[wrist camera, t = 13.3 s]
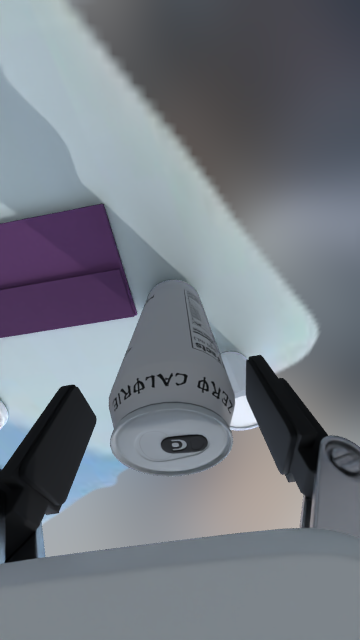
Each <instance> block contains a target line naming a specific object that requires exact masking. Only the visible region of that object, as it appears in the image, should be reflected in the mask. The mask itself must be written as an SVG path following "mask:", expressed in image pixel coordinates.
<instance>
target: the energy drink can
mask: <svg viewBox="0 0 360 640" xmlns="http://www.w3.org/2000/svg"><path fill="white" fill-rule="evenodd" d="M234 407H235V394H234V391H233V389H232V386H231V383H230V380H229V378H228V375H227V372H226V369H225V366H224V364H223V361H222V358H221V355H220V352H219V350H218V347H217V344H216V341H215V339H214V336H213V333H212V330H211V327H210V325H209V322H208V319H207V316H206V314H205V311H204V308H203V305H202V302H201V300H200V297H199V294H198V293H197V291H196V290H195V289H194V288H193V287H192V286H191V285H189V284H188V283H186V282H184V281H180V280H167V281H164V282H161V283H159V284H158V285H156V286H155V287H154V288H153V289H152V290H151V292H150V293H149V295H148V298H147V300H146V303H145V305H144V308H143V310H142V313H141V316H140V318H139V321H138V323H137V326H136V328H135V331H134V333H133V336H132V339H131V341H130V344H129V346H128V349H127V351H126V354H125V357H124V359H123V362H122V364H121V367H120V369H119V372H118V374H117V377H116V380H115V382H114V385H113V387H112V390H111V393H110V396H109V410H110V414H111V418H112V422H113V427H114V430H113V433H112V435H111V439H110V447H111V450H112V453H113V454H114V456H115V457H116V458H117V459H118V460H119V461H120V462H121V463H122V464H124V465H126V466H127V467H129V468H131V469H133V470H136V471H138V472H142V473H146V474H150V475H157V476H182V475H189V474H194V473H198V472H201V471H204V470H207V469H209V468H211V467H213V466H215V465H217V464H218V463H220V462H221V461H222V460H223V459H224V458H225V457H226V456H227V455H228V454H229V452H230V450H231V448H232V444H233V437H232V432H231V430H230V424H231V420H232V416H233V412H234Z"/></svg>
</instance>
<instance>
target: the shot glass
mask: <svg viewBox="0 0 360 640" xmlns="http://www.w3.org/2000/svg"><path fill="white" fill-rule="evenodd" d="M220 355H221V358H222V361H223V364H224V366H225V369H226V372H227V375H228V378H229V380H230V383H231V386H232V389H233V391H234V394H235V407H234V412H233V416H232V420H231V424H230V430H237V431H239V430H249V429H252V428H256V427H259V426H258V423H257V421H256V419H255V417H254V414H253V412H252V410H251V408H250V406H249V403H248V401H247V398H246V360H247V359H246V357H245V356H243V355H242V354H241V353H238V352H233V351H231V352H224V353H221V354H220Z"/></svg>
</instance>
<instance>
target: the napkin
mask: <svg viewBox="0 0 360 640" xmlns="http://www.w3.org/2000/svg"><path fill="white" fill-rule="evenodd" d="M135 315H137V311H136V308H135V305H134V301H133V298H132V295H131V292H130V288H129V285H128V282H127V279H126V275H125V272H124V269H123V266H122V262H121V259H120V256H119V253H118V249H117V246H116V243H115V240H114V236H113V233H112V230H111V227H110V223H109V220H108V217H107V214H106V211H105V207H104V204H98V205H93V206H88V207H83V208H78V209H73V210H68V211H63V212H58V213H52V214H47V215H42V216H37V217H32V218H27V219H22V220H17V221H12V222H7V223H2V224H0V338H3V337H9V336H15V335H22V334H28V333H34V332H40V331H47V330H53V329H59V328H65V327H72V326H78V325H84V324H90V323H97V322H103V321H109V320H115V319H122V318H128V317H134V316H135Z"/></svg>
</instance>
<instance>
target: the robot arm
mask: <svg viewBox="0 0 360 640" xmlns="http://www.w3.org/2000/svg"><path fill="white" fill-rule="evenodd" d="M246 398H247V401H248V403H249V406H250V408H251V410H252V412H253V414H254V417H255V419H256V421H257V423H258V426H259V428H260V430H261V432H262V434H263V436H264V439H265V441H266V443H267V446H268V448H269V450H270V452H271V455H272V457H273V459H274V461H275V463H276V466H277V468H278V470H279V472H280V473H281V474H282V475H283V474H285V476H286V478H287V480H288V482H295V481H296V483H297V485H298V487H299V489H300V491H301V493H303V494H304V496H303V504H302V512H301V520H300V528H292V529H276V530H265V531H255V532H245V533H235V534H227V535H219V536H210V537H202V538H194V539H186V540H177V541H169V542H161V543H153V544H146V545H137V546H129V547H121V548H113V549H105V550H97V551H90V552H83V553H74V554H67V555H60V556H52V557H45V549H44V541H43V531H42V522H41V521H42V519H43V517H44V514H46V515H49V514H56V513H59V510H60V508H61V505H62V504H63V503H64V502H65V501H66V499H67V496H68V494H69V491H70V489H71V486H72V484H73V481H74V478H75V476H76V473H77V471H78V468H79V466H80V463H81V460H82V458H83V455H84V453H85V450H86V447H87V445H88V442H89V440H90V437H91V435H92V432H93V429H94V427H95V424H96V416H95V414H94V412H93V411H92V409H91V408H90V406H89V404H88V403H87V401H86V399H85V398H84V396H83V394H82V393H81V391H80V390H79V388H78V387H76V386H75V385H67V386H62V387H61V388H60V389H59V390H58V391H57V393H56V394H55V396H54V397H53V398H52V400H51V401H50V403H49V404H48V406H47V407H46V408H45V410H44V411H43V413H42V414H41V416H40V417H39V418H38V420H37V421H36V423H35V424H34V425H33V427H32V428H31V430H30V431H29V433H28V434H27V435H26V437H25V438H24V440H23V441H22V443H21V444H20V445H19V447H18V448H17V450H16V451H15V452H14V454H13V455H12V457H11V458H10V460H9V461H8V462H7V464H6V465H5V467H4V468H3V469H2V471H1V472H0V640H360V447H359V446H358V445H356V444H355V443H353V442H351V441H350V440H348V439H345V438H343V437H339V436H328V435H327V433H326V432H325V431H324V429H323V428H322V427H321V425H320V424H319V423H318V422H317V420H316V419H315V418H314V416H313V415H312V414H311V412H310V411H309V410H308V408H307V407H306V406H305V405H304V403H303V402H302V401H301V399H300V398H299V397H298V395H297V394H296V393H295V392H294V390H293V389H292V388H291V386H290V385H289V384H288V383H287V381H286V380H284V379H283V378H278V377H277V376H276V375H275V373H274V372H273V370H272V369H271V368H270V366H269V365H268V364H267V362H266V361H265V359H264V358H263V357H262V356H261V355H257V356H251V357H249V360H246ZM7 420H8V411H7V409H6V407H5V405H4V404H3V403H2V402H1V400H0V429H1V428H2V427H3V426H4V425H5V423H6V422H7Z"/></svg>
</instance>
